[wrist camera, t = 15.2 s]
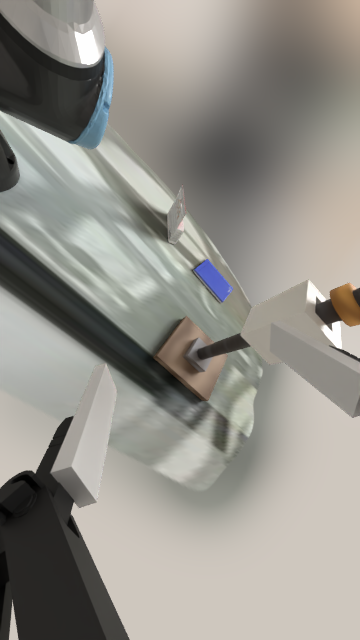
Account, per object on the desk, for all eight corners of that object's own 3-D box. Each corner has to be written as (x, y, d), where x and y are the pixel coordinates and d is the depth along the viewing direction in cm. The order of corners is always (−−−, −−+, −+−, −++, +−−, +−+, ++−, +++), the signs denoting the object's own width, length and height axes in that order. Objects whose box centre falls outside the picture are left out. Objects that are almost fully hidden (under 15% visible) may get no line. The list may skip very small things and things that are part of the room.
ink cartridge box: (173, 218, 54) (190, 188, 47) (175, 245, 50) (194, 217, 42) (166, 214, 53) (182, 183, 45) (167, 242, 49) (185, 213, 41)
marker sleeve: (240, 335, 23) (304, 311, 17) (251, 307, 26) (308, 279, 20) (269, 364, 24) (341, 352, 17) (276, 334, 27) (339, 315, 21)
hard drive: (233, 288, 55) (208, 258, 54) (223, 301, 50) (194, 269, 49) (230, 290, 56) (205, 261, 55) (219, 304, 52) (191, 272, 50)
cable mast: (153, 357, 35) (527, 176, 6) (182, 319, 42) (421, 151, 13) (202, 400, 37) (654, 413, 8) (222, 357, 44) (503, 282, 15)
